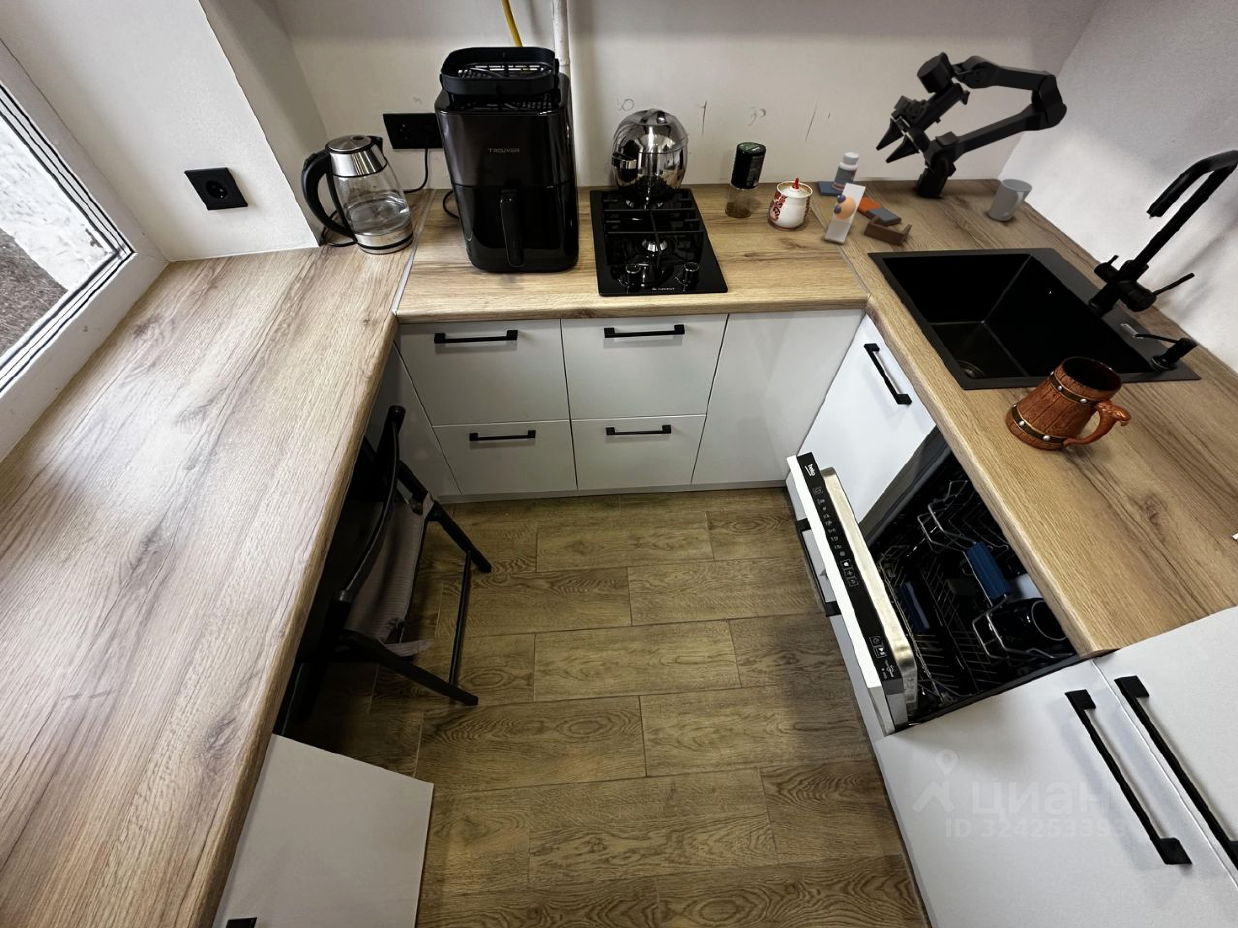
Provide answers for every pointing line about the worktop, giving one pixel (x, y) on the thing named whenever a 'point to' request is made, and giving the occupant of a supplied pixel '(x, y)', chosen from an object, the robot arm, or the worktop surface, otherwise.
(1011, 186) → the cup
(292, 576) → the worktop surface
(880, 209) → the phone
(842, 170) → the pill bottle
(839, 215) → the white dotted panel
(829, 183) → the seat mat
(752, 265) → the worktop surface
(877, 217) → the brown wooden tray
